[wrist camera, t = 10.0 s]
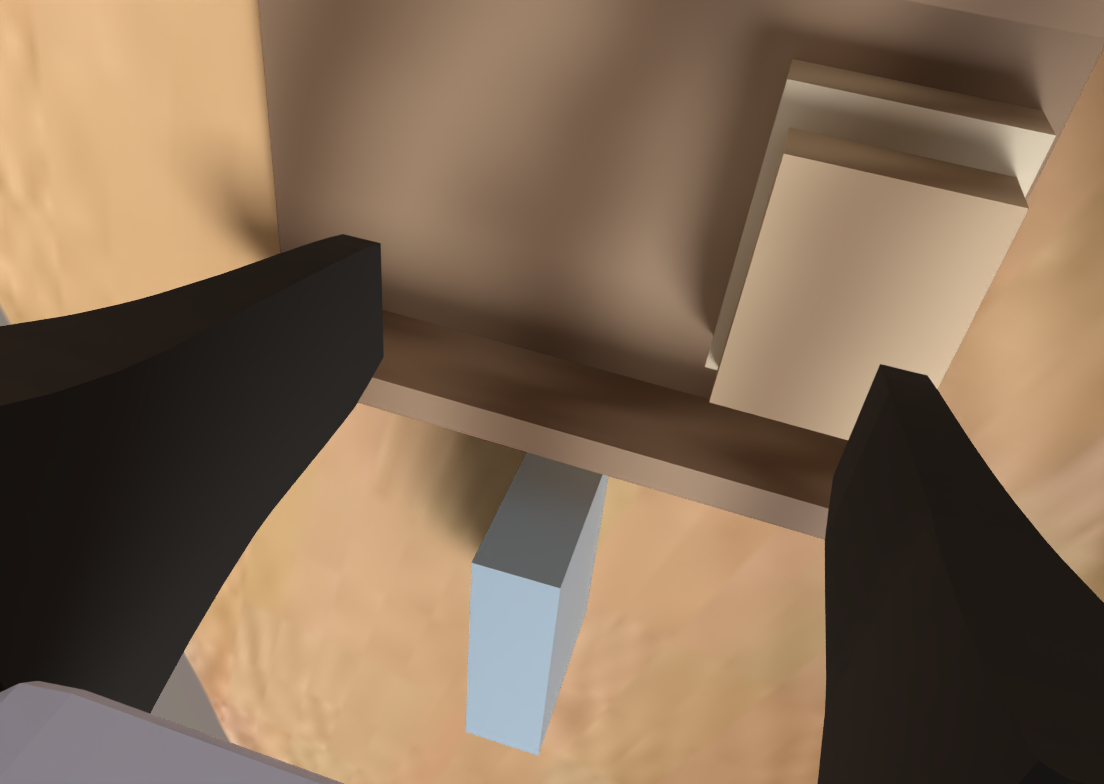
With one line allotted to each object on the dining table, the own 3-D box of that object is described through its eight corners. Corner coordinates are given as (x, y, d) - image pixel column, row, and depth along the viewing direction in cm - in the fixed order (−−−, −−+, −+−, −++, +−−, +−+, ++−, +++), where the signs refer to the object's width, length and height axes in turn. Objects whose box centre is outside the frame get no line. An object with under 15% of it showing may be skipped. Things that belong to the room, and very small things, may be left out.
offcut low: (1042, 110, 17) (1056, 135, 16) (910, 386, 21) (912, 422, 20) (792, 58, 18) (787, 79, 16) (713, 335, 22) (704, 367, 21)
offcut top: (1017, 176, 16) (1028, 208, 15) (901, 416, 20) (903, 455, 19) (789, 127, 17) (783, 153, 16) (717, 366, 21) (709, 402, 20)
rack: (1141, -59, 16) (1206, -19, 13) (886, 460, 24) (889, 558, 21) (260, -211, 18) (145, -208, 15) (299, 298, 26) (228, 364, 23)
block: (614, 443, 26) (560, 588, 22) (586, 608, 31) (538, 755, 26) (540, 424, 27) (471, 562, 22) (524, 590, 31) (465, 731, 27)
